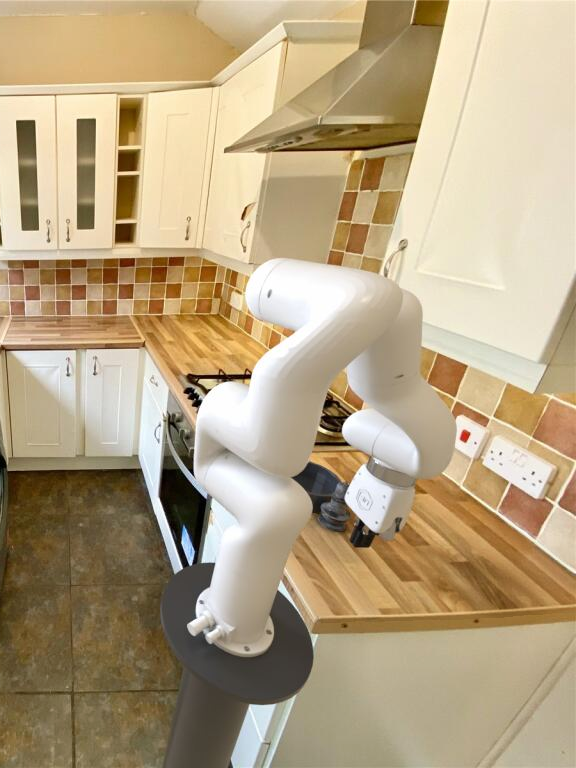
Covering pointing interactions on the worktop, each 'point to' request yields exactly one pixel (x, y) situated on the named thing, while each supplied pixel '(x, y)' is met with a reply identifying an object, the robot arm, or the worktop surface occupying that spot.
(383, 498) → the robot arm
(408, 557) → the worktop surface
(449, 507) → the worktop surface
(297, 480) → the dark grey bowl
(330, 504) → the dark grey chess piece
